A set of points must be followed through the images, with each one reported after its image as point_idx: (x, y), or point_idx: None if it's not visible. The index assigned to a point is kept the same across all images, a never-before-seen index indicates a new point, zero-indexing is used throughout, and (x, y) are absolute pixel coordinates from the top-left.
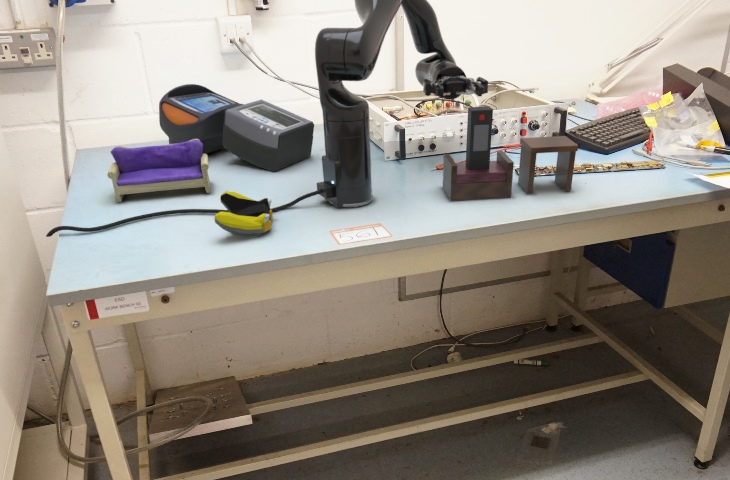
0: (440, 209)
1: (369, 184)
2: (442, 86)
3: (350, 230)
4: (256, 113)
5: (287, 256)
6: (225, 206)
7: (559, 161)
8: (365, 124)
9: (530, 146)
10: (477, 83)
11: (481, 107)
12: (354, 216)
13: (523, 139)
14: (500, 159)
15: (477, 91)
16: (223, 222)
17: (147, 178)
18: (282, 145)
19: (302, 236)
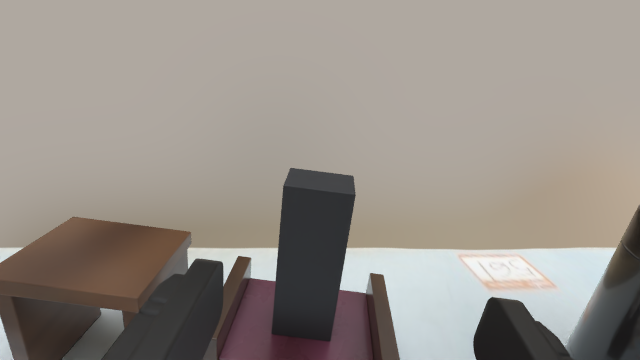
0: (392, 309)
1: (569, 343)
2: (515, 327)
3: (525, 281)
4: None
5: (565, 249)
6: None
7: (41, 317)
8: (633, 218)
9: (184, 237)
10: (150, 350)
11: (313, 183)
12: (548, 322)
13: (143, 284)
14: (231, 314)
15: (204, 330)
16: None
17: None
18: None
19: (586, 283)
